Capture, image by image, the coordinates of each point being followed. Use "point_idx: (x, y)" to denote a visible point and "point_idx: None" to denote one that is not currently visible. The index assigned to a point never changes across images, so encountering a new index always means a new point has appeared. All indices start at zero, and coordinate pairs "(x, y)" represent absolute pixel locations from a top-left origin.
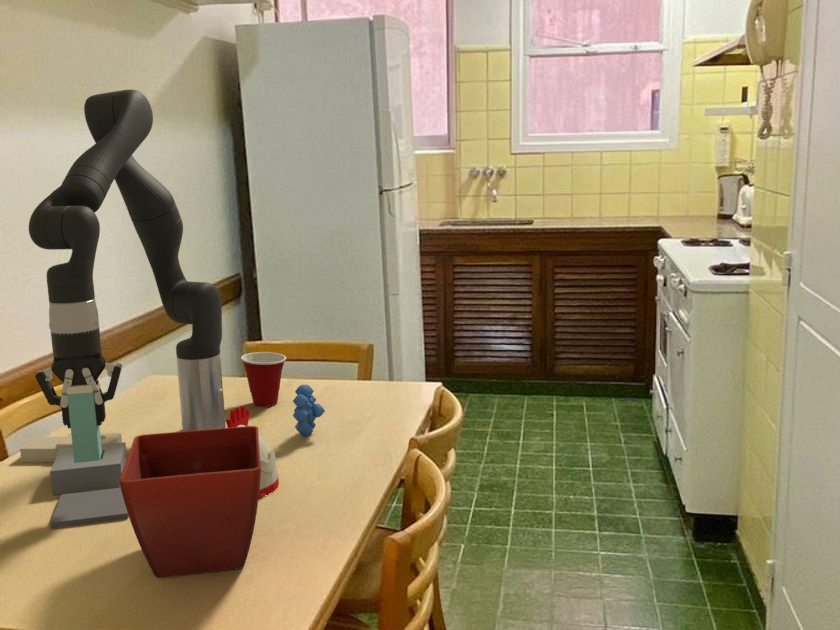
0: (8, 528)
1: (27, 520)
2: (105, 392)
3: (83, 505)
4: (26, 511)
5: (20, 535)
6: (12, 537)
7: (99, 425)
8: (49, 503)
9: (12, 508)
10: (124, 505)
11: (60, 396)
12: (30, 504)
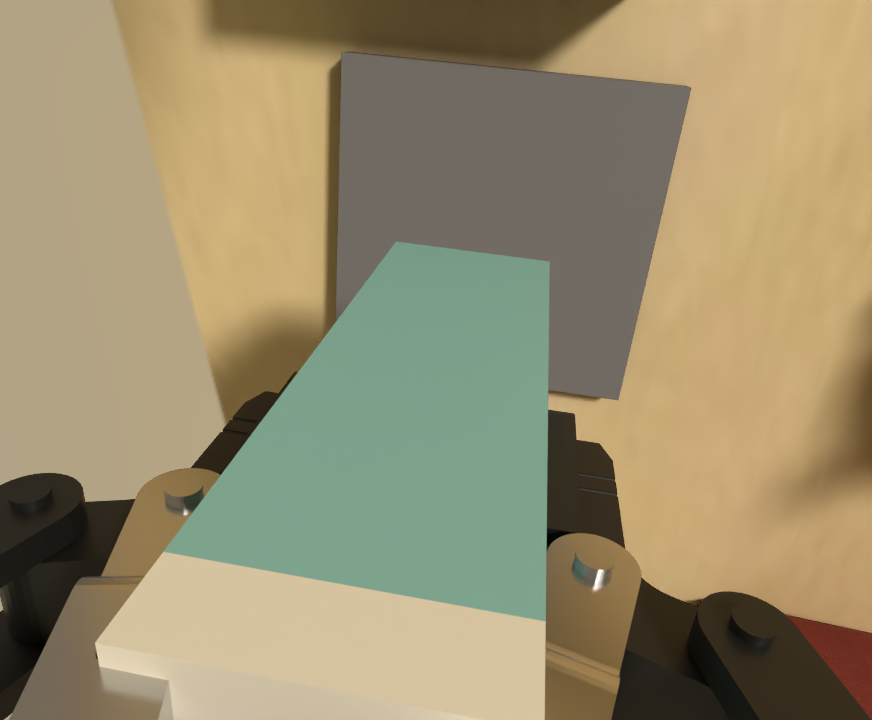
0: (189, 278)
1: (241, 232)
2: (666, 690)
3: (448, 241)
4: (216, 130)
5: (245, 356)
6: (223, 360)
7: (548, 337)
8: (297, 73)
9: (147, 65)
10: (617, 319)
11: (99, 560)
12: (214, 47)
